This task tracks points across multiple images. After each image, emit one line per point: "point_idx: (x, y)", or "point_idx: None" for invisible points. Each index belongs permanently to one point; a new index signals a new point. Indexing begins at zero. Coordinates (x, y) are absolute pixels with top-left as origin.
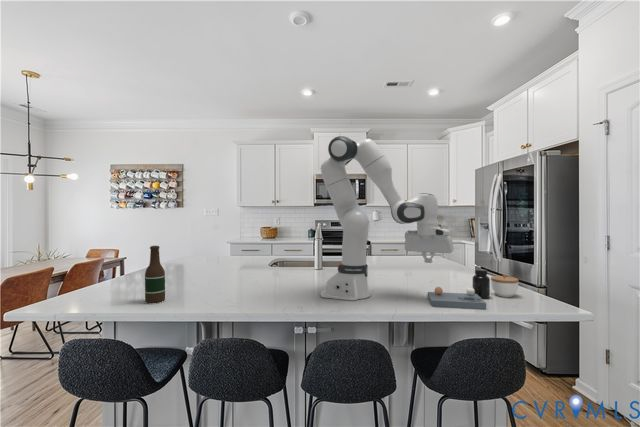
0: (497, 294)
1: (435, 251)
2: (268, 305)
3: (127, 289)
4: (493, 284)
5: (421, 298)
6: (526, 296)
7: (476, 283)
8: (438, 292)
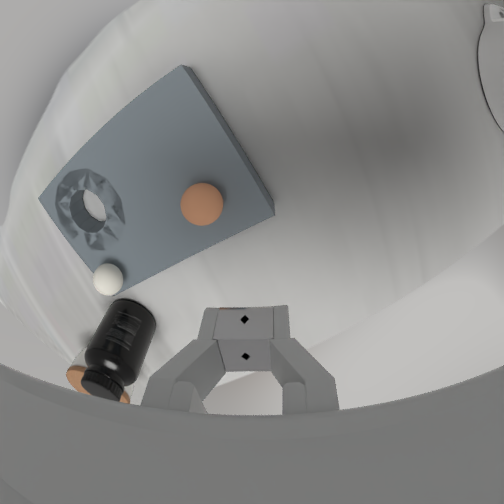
0: None
1: (85, 406)
2: None
3: None
4: None
5: (292, 170)
6: None
7: (113, 338)
8: (194, 184)
